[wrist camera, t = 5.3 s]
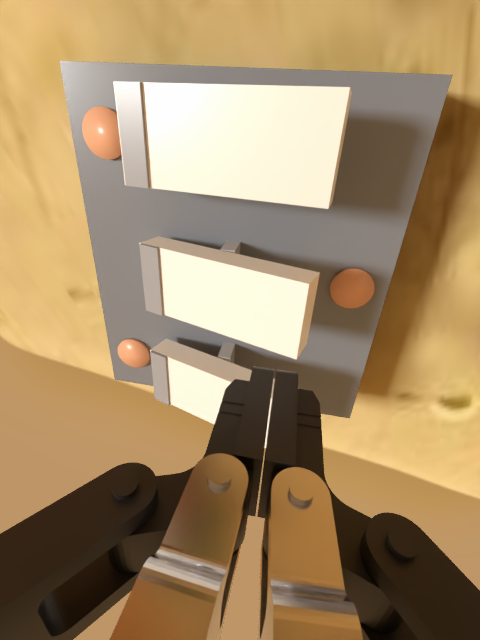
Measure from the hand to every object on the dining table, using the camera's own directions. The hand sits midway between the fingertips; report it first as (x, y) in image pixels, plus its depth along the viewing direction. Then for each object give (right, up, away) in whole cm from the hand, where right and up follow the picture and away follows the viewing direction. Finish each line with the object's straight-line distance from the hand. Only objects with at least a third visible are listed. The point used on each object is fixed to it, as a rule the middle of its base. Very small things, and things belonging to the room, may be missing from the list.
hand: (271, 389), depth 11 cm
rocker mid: (-2, +4, +6) cm, 8 cm away
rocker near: (-2, +10, +3) cm, 10 cm away
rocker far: (-2, -2, +10) cm, 10 cm away
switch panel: (-1, +7, +12) cm, 14 cm away
